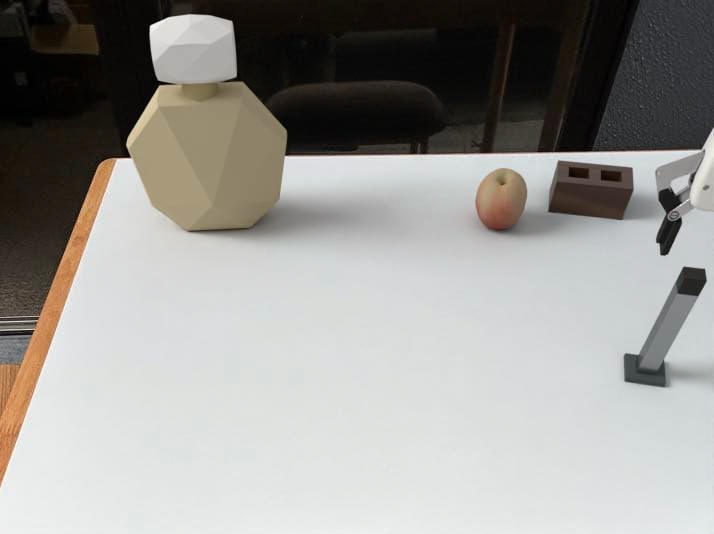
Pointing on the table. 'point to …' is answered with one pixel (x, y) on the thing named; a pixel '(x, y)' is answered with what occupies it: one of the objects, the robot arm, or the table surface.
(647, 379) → the mat
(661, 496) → the table surface
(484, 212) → the fruit
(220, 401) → the table surface
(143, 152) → the perfume bottle
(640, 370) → the grey square peg
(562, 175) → the holder
